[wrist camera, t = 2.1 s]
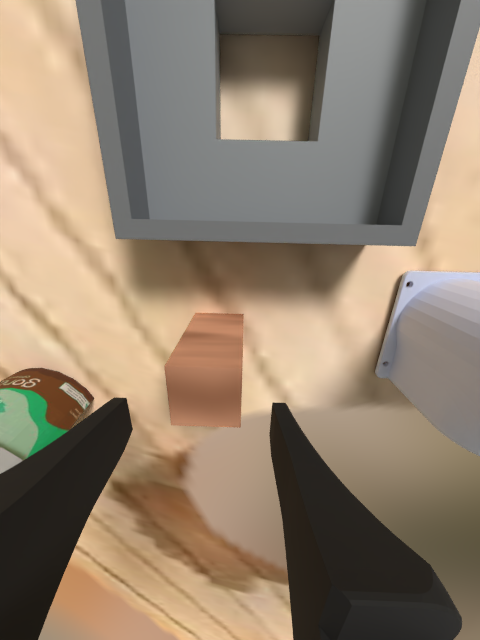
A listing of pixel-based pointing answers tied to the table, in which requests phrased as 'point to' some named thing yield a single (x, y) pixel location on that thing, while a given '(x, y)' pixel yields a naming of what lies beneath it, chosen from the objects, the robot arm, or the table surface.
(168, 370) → the peg
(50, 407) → the food container
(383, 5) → the hole box
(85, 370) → the table surface
